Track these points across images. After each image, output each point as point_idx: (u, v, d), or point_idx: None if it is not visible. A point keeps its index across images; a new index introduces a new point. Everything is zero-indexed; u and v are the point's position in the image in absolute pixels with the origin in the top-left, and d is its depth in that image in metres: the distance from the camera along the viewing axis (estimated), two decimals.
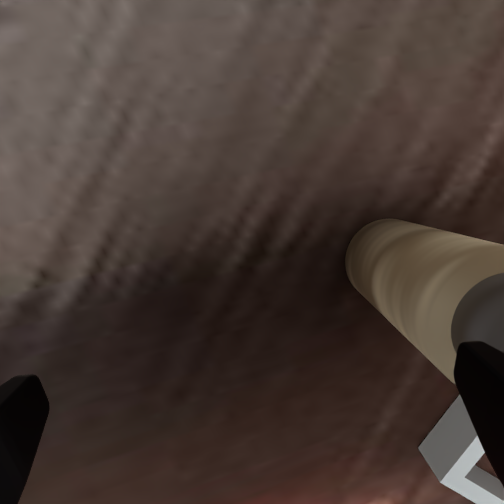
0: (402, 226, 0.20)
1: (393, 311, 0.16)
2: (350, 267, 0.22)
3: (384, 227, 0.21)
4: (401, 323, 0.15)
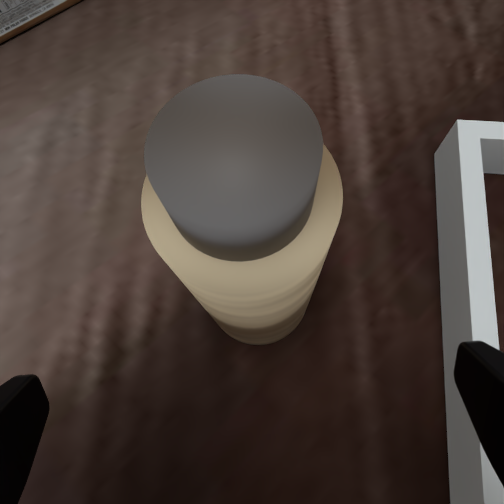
0: None
1: None
2: None
3: None
4: (188, 288, 0.12)
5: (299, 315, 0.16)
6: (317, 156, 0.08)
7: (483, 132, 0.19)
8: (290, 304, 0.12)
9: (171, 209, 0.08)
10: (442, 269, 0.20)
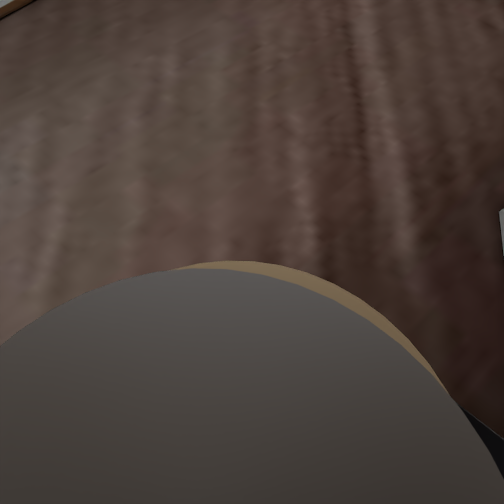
0: None
1: None
2: None
3: None
4: None
5: None
6: None
7: None
8: None
9: None
10: None
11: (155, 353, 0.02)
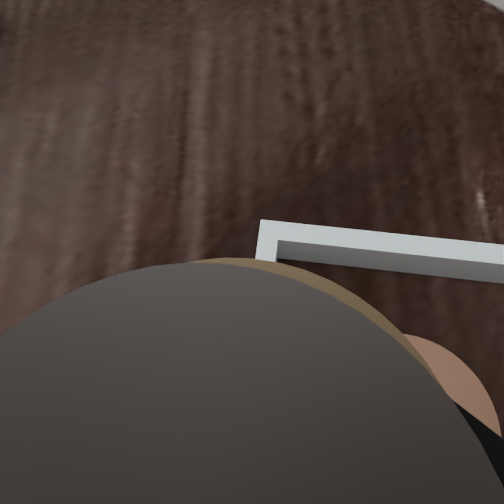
0: None
1: None
2: None
3: None
4: None
5: None
6: None
7: (282, 233, 0.20)
8: None
9: None
10: None
11: (151, 346, 0.02)
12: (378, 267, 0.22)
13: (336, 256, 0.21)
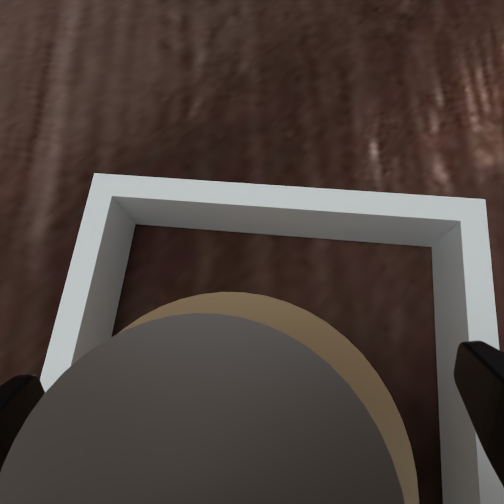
0: None
1: None
2: None
3: None
4: None
5: None
6: None
7: (118, 188, 0.17)
8: None
9: None
10: None
11: (172, 369, 0.04)
12: (248, 230, 0.19)
13: (192, 216, 0.18)
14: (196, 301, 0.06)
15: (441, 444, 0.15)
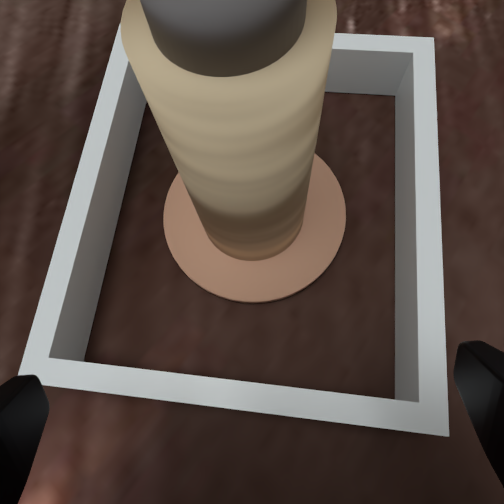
0: None
1: (173, 154, 0.12)
2: None
3: None
4: (173, 146, 0.11)
5: (293, 213, 0.15)
6: None
7: None
8: (282, 167, 0.11)
9: None
10: None
11: None
12: None
13: None
14: None
15: (395, 231, 0.19)
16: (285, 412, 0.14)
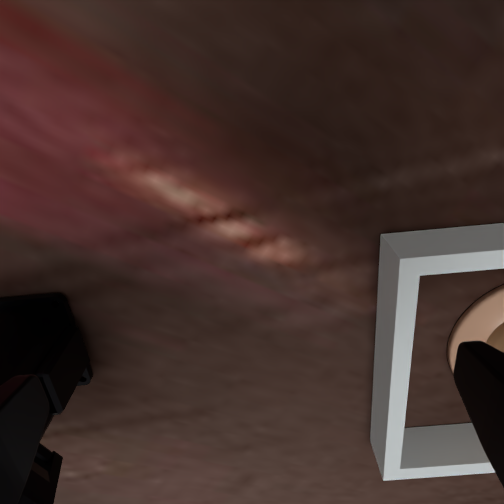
0: None
1: None
2: None
3: None
4: None
5: None
6: None
7: None
8: None
9: None
10: None
11: None
12: None
13: None
14: None
15: None
16: (390, 416, 0.23)
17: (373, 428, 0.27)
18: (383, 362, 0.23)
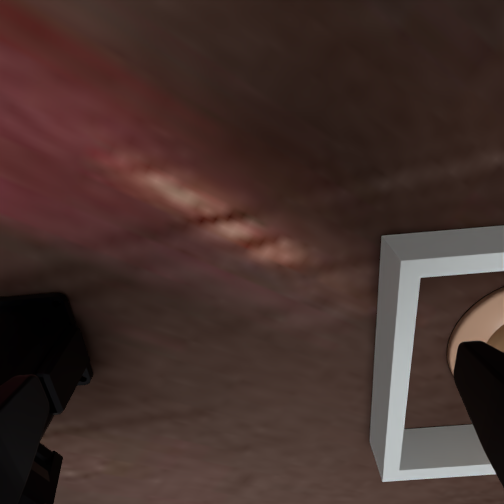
0: None
1: None
2: None
3: None
4: None
5: None
6: None
7: None
8: None
9: None
10: None
11: None
12: None
13: None
14: None
15: None
16: (389, 418, 0.23)
17: (373, 429, 0.27)
18: (383, 363, 0.23)
